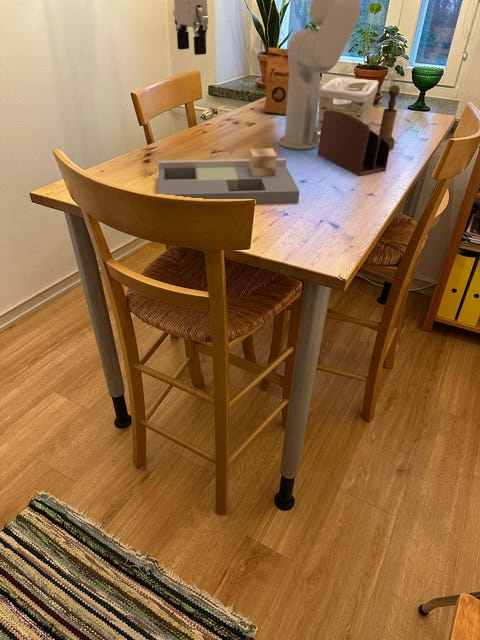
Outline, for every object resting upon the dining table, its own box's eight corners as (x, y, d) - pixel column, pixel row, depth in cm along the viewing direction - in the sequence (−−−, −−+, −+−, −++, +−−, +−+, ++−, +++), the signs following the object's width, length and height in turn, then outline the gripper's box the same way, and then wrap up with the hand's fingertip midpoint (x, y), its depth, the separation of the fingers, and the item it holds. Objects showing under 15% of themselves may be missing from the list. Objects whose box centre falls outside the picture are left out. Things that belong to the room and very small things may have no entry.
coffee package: (292, 117, 175) (297, 51, 162) (260, 114, 178) (263, 48, 165) (298, 111, 183) (303, 47, 169) (267, 108, 186) (271, 45, 172)
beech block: (271, 167, 124) (272, 148, 121) (275, 175, 119) (276, 156, 116) (249, 167, 123) (250, 148, 120) (252, 176, 119) (253, 156, 116)
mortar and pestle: (395, 145, 151) (408, 84, 140) (391, 151, 146) (404, 88, 135) (374, 142, 153) (386, 82, 142) (370, 147, 148) (382, 86, 137)
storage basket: (329, 118, 176) (335, 75, 167) (372, 123, 171) (380, 79, 162) (312, 135, 158) (318, 88, 149) (359, 141, 154) (368, 93, 145)
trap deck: (283, 174, 128) (284, 158, 125) (298, 202, 113) (300, 185, 111) (159, 177, 125) (158, 160, 122) (158, 207, 110) (156, 188, 107)
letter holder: (359, 177, 128) (368, 124, 120) (316, 155, 142) (322, 106, 133) (386, 171, 132) (397, 119, 124) (342, 151, 146) (349, 103, 137)
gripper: (219, -29, 107) (220, 55, 118) (186, -31, 119) (189, 46, 129) (190, -29, 104) (193, 57, 115) (159, -31, 116) (165, 48, 126)
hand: (191, 51), depth 122 cm, fingers open, 9 cm apart
